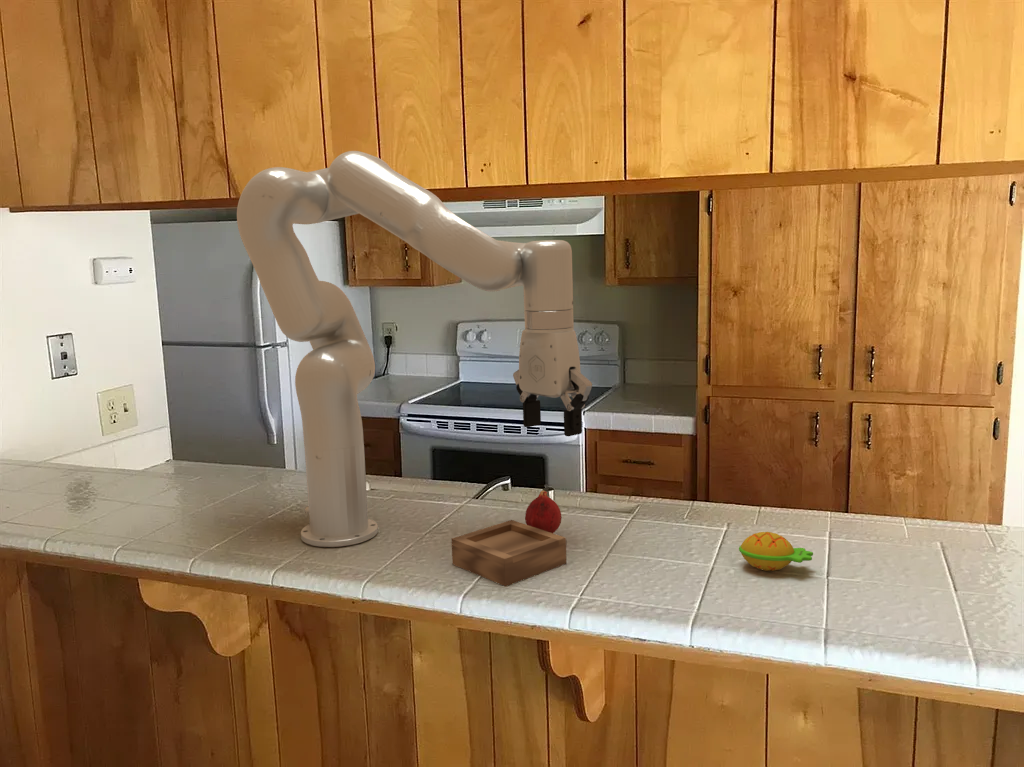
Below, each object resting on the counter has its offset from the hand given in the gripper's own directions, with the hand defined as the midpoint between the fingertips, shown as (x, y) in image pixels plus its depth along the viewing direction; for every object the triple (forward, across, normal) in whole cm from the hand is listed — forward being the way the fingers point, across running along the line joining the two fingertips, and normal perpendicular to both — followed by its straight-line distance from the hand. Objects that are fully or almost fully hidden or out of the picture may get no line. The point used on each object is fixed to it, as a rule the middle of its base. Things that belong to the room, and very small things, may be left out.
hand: (552, 430), depth 132 cm
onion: (+18, -1, -1) cm, 18 cm away
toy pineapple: (+18, +31, +14) cm, 39 cm away
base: (+18, +3, -12) cm, 22 cm away
